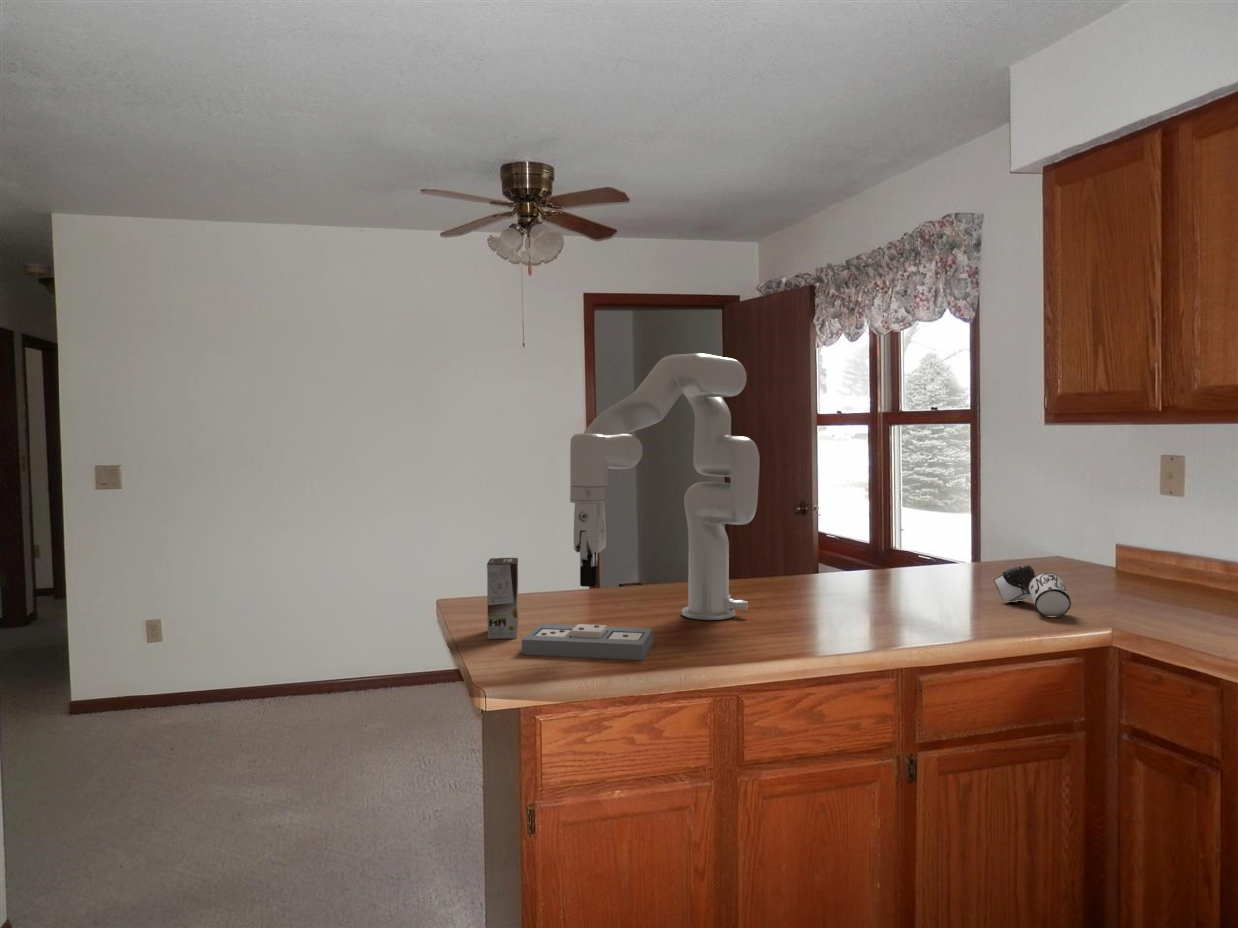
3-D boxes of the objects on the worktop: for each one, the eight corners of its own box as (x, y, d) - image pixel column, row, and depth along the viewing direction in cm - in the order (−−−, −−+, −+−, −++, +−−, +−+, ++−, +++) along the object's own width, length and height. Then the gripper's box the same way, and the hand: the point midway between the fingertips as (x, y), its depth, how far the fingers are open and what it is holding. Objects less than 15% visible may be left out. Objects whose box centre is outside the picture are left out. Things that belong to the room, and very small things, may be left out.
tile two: (606, 634, 185) (606, 624, 185) (600, 641, 179) (600, 630, 179) (578, 633, 186) (578, 623, 186) (571, 640, 180) (571, 629, 180)
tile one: (642, 642, 184) (642, 632, 183) (637, 650, 178) (637, 639, 178) (613, 641, 185) (613, 631, 184) (608, 648, 179) (608, 637, 179)
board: (652, 642, 187) (652, 628, 187) (642, 660, 173) (642, 644, 173) (541, 637, 192) (541, 623, 191) (522, 654, 178) (521, 639, 178)
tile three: (571, 639, 186) (570, 629, 186) (563, 646, 180) (563, 635, 180) (542, 638, 187) (542, 628, 187) (534, 645, 181) (534, 634, 181)
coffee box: (517, 638, 191) (517, 563, 190) (487, 639, 190) (486, 563, 190) (518, 629, 200) (518, 557, 199) (489, 629, 200) (489, 557, 199)
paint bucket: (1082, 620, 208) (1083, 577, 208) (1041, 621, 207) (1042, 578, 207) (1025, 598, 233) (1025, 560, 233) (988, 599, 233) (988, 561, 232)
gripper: (599, 498, 173) (599, 593, 174) (614, 492, 188) (613, 580, 188) (561, 497, 174) (561, 591, 175) (579, 492, 189) (578, 579, 190)
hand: (588, 585), depth 182 cm, fingers closed
